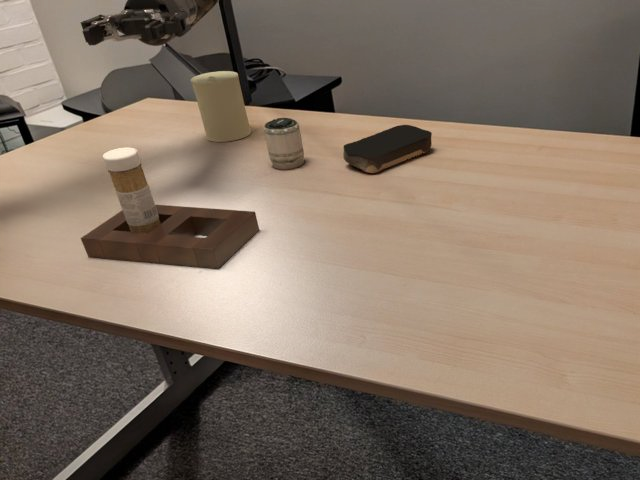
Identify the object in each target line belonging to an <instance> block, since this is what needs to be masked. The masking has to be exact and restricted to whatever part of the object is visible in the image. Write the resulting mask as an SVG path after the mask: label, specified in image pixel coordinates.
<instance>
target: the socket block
mask: <svg viewBox="0 0 640 480" xmlns="http://www.w3.org/2000/svg"><path fill="white" fill-rule="evenodd" d="M155 206H156V209H157V212H158V215H159V220H160V223H161V224H160V225H159V226H158V227H156V228H155V229H154V230H152V231H151V232H150V233H139V232H131V230H130V228H129V225H128V223H127V221H126V218H125V215H124V213H123V210H122V209H121V210H120V211H119V212H117V213H116V214H114V215H113V216H111V217H109V218H108V219H107V220H106V221H104V222H102V223H101V224H100V225H97V226H96V227H94V228H93V229H92V230H90V231H89V232H87V233H86V234H84V235H83V236H81V237H80V240H81V243H82V245H83V248H84V251H85V253H86V255H87V257H88V258H96V259H98V258H99V259H108V260H118V261H129V262H138V263H139V262H140V263H151V264H161V265H173V266H183V267H192V268H193V267H194V268H205V269H206V268H208V269H216V270H217V269H220V268H221V267H222V266H223V265H224V264H225V263H226V262H227V261H229V259H231V257H232V256H234V255H235V254H236V253H237V252H238V251H239V250H240V249H241V248H242V247H243V246H244V245H245V244H246V243H248V241H249V240H250V239H252V238H253V236H255V235H256V234H257V232H259V231H260V226H259V222H258V217H257V214H256V211H254V210H252V211H250V210H240V209H239V210H237V209H226V208H225V209H224V208H211V207H209V208H208V207H197V206H196V207H195V206H194V207H193V206H182V205H181V206H180V205H169V204H155ZM196 235H200V237H199V236H196ZM201 236H206V237H201Z"/></svg>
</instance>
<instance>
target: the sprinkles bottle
mask: <svg viewBox="0 0 640 480" xmlns="http://www.w3.org/2000/svg"><path fill="white" fill-rule="evenodd" d="M102 160H103V163H104V166H105V169H106V170H107V172H108V174H109V176H110V178H111V181H112V184H113V187H114V189H115V194H116V197H117V199H118V202H119V205H120V207H121V211H122V210H123V213H124V215H125V218H126V221H127V223H128V225H129V228H130V230H131V232H139V233H150V232H151V231H152V230H154V229H155V228H156V227H158V226H159V225H160V224H161V223H160V220H159V215H158V212H157V209H156V206H155V205H156V203H155V199H154V197H153V193H152V191H151V188H150V186H149V185H150V184H149V183H148V181H147V179H146V176H145V172H144V169H143V166H142V165H143V164H142V159H141V156H140V154H139V151H138V149H137V148H134V147H119V148H114V149H110V150H109V151H106V152H105V153H104V154H103V155H102Z"/></svg>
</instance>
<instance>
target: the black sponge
mask: <svg viewBox="0 0 640 480" xmlns="http://www.w3.org/2000/svg"><path fill="white" fill-rule="evenodd" d="M432 135H433V132H431V131H430V130H427V129H423V128H421V127H418V126H415V125H411V124H400V125H396V126H393V127H390V128H387V129H385V130H382V131H380V132H377V133H375V134H372V135H369V136H367V137H363V138H361V139H358V140H356V141H352V142H348V143H346V144H344V145H343V160H344V161H345V162H346V163H347V164H349V165H350V166H353V167H355V168H357V169H360V170H361V171H363V172H365V173H369V174H377V173H379V172H381V171H383V170H387V169H388V168H390V167H392V166H393V167H394V166H395V165H398V164H400V163H402V162H405V161H408V160H410V159H412V157H413V158H416V157H418V156H420V155H423V154H427V153H428V152H430V150H431V149H432ZM422 153H423V154H422ZM417 155H418V156H417ZM415 156H416V157H415ZM407 159H408V160H407Z"/></svg>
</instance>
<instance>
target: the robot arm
mask: <svg viewBox="0 0 640 480" xmlns="http://www.w3.org/2000/svg"><path fill="white" fill-rule="evenodd" d="M219 2H220V0H126V2H125V4H124V7H123V10H121V11H120V12H117V13H112V14H106V15H105V14H98V15H96V16H93V17H90V18H89V19H88V18H87V19H86V20H83V21H81V22H80V26H81V28H82V34H83V37H84V40H85V43H87V45H88V46H97V45H98V44H101V43H103V42H104V41H109V40H111V41H113V42H123V41H126V40H138V41H139V42H141V43H143V44H145V45H148V46H153V47H159V46H163V45H165V44H167V43H168V42H170V41H172V40H173V39H175V38H181V37H183V36H185V35H186V34H188V32H190V31H191V30H192V28H193V27H194V26H196V25H197V24H198V23H199V22H200V21H201V20H202V19H203V18H204V17H205V16H206V15H207V14H208V13H209V12H210V11H212V9H214V8H216V6H217V4H218V3H219ZM119 33H120V34H119Z"/></svg>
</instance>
